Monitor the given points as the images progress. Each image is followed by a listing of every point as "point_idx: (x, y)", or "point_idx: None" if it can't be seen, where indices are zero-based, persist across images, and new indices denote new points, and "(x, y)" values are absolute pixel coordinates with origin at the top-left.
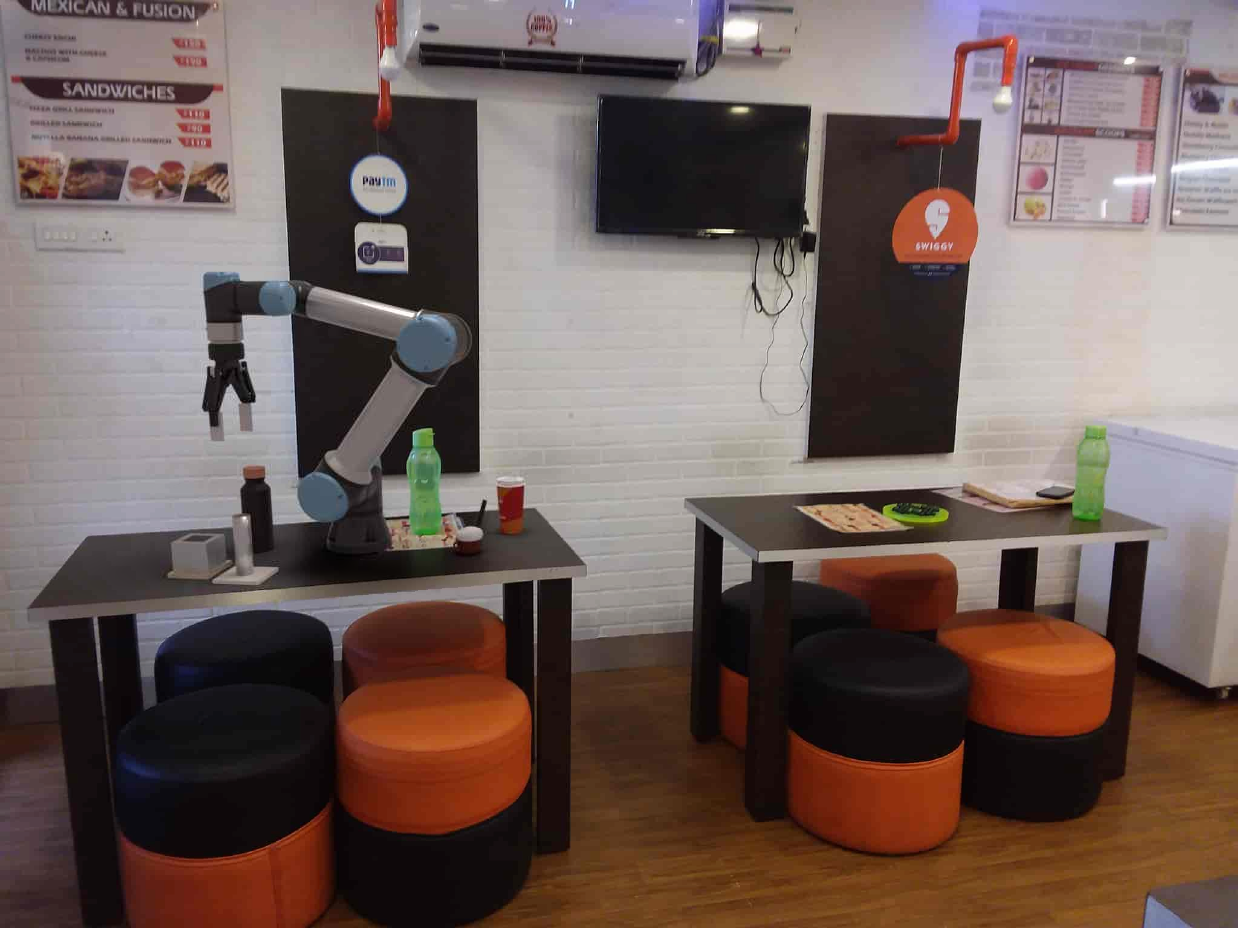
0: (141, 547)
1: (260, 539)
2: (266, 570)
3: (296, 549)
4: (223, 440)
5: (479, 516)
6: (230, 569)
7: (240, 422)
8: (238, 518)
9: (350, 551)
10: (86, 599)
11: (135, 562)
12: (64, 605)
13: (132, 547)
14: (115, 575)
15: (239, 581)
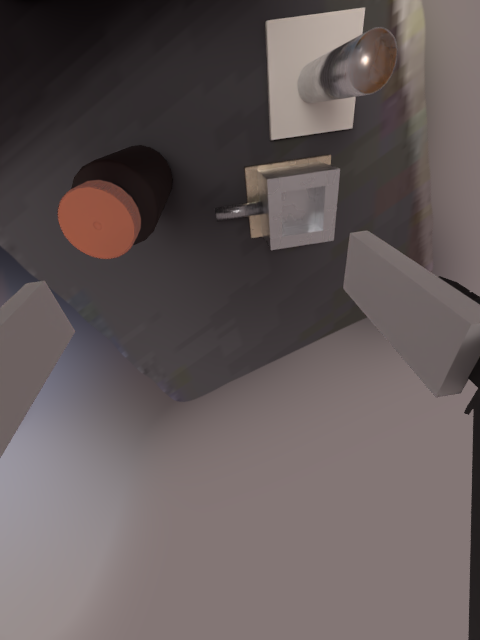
0: (203, 344)
1: (160, 160)
2: (290, 40)
3: (113, 85)
4: (360, 232)
5: None
6: (292, 134)
7: (54, 359)
8: (396, 54)
9: None
10: None
11: (262, 310)
12: None
13: (207, 352)
14: (315, 295)
15: None
